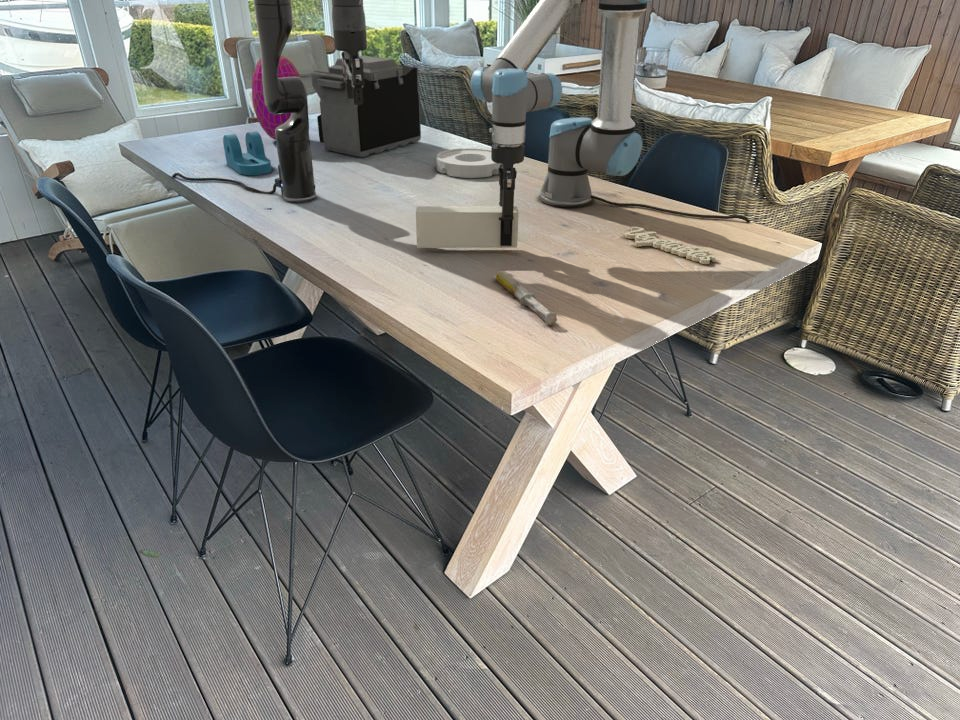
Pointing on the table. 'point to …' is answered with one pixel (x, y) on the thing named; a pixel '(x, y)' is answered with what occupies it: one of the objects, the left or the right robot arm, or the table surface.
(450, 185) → the table surface
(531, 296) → the syringe
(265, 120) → the decorative egg
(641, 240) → the decorative sign
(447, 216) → the bar
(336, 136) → the tool box
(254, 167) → the camera mount
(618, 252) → the table surface
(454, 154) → the ashtray
